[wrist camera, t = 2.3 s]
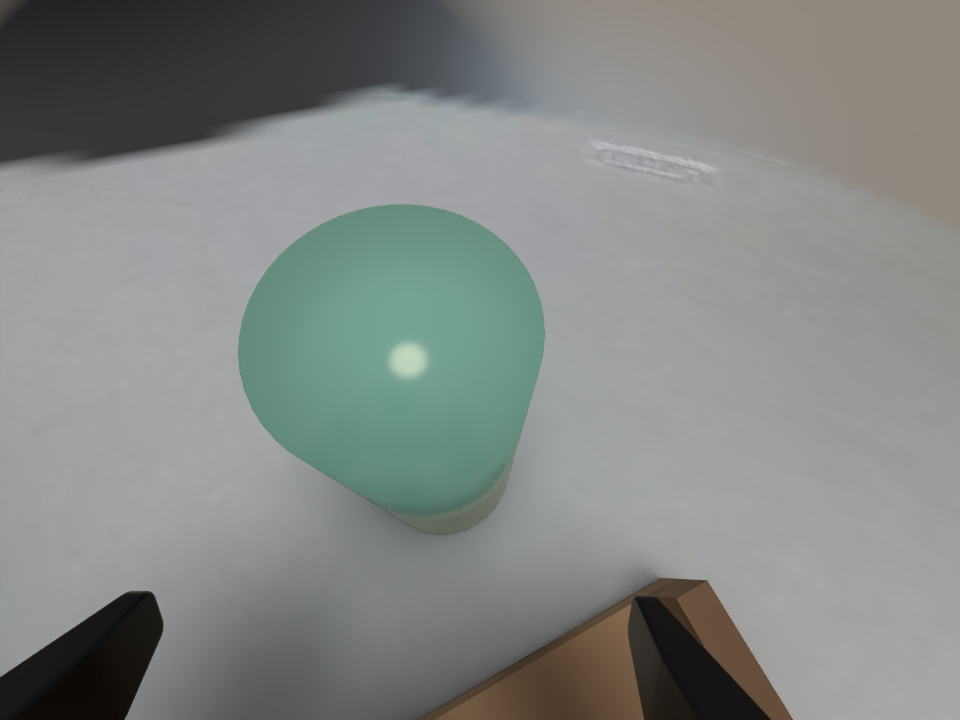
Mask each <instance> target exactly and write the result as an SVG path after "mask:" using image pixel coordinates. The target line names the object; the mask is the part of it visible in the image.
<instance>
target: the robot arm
mask: <svg viewBox="0 0 960 720" xmlns="http://www.w3.org/2000/svg"><path fill="white" fill-rule="evenodd" d="M162 632H163V619H162V616H161V613H160V610H159V607H158V604H157V601H156V598H155V596H154V594H153V593H152V592H150V591H130V592H127V593H125V594H123V595H121V596H120V597H118V598H117V599H115V600H114V601H112V602H111V603H109V604H108V605H106V606H105V607H104V608H102V609H101V610H99V611H98V612H96V613H95V614H93V615H92V616H90V617H89V618H87V619H86V620H84V621H83V622H81V623H80V624H78V625H77V626H75V627H74V628H72V629H71V630H69V631H68V632H66V633H65V634H63V635H62V636H61V637H59V638H58V639H56V640H55V641H53V642H52V643H50V644H49V645H47V646H46V647H44V648H43V649H41V650H40V651H38V652H37V653H35V654H34V655H32V656H31V657H29V658H28V659H26V660H25V661H23V662H22V663H21V664H19V665H18V666H16V667H15V668H13V669H12V670H10V671H9V672H7V673H6V674H4V675H3V676H1V677H0V720H125V718H126V716H127V713H128V711H129V709H130V707H131V705H132V702H133V700H134V698H135V695H136V693H137V691H138V688H139V686H140V684H141V682H142V679H143V677H144V675H145V672H146V670H147V668H148V666H149V663H150V661H151V659H152V656H153V654H154V652H155V650H156V647H157V645H158V643H159V640H160V638H161V635H162ZM628 639H629V645H630V650H631V655H632V660H633V665H634V670H635V675H636V681H637V686H638V691H639V696H640V701H641V706H642V711H643V716H644V720H772V719H771V718H770V717H769V716H768V715H767V714H766V713H765V712H764V711H763V709H762V708H761V707H760V706H759V705H758V704H757V703H756V702H755V701H754V700H753V699H752V698H751V697H750V696H749V694H748V693H747V692H746V691H745V690H744V689H743V688H742V687H741V686H740V685H739V684H738V683H737V682H736V680H735V679H734V678H733V677H732V676H731V675H730V674H729V673H728V672H727V671H726V670H725V669H724V668H723V667H722V665H721V664H720V663H719V662H718V661H717V660H716V659H715V658H714V657H713V656H712V655H711V654H710V653H709V652H708V650H707V649H706V648H705V647H704V646H703V645H702V644H701V643H700V642H699V641H698V640H697V639H696V638H695V636H694V635H693V634H692V633H691V632H690V631H689V630H688V629H687V628H686V627H685V626H684V625H683V624H682V623H681V621H680V620H679V619H678V618H677V617H676V616H675V615H674V614H673V613H672V612H671V611H670V610H669V609H668V608H667V606H666V605H665V604H664V603H663V602H662V601H661V600H660V599H659V598H658V597H656V596H654V595H635V596H634V597H633V599H632V603H631V610H630V616H629V622H628Z"/></svg>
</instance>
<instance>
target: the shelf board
mask: <svg viewBox="0 0 960 720" xmlns="http://www.w3.org/2000/svg"><path fill="white" fill-rule="evenodd" d="M635 595H654V596H656V597H658V598H659V599H660V600H661V601H662V602H663V603H664V604H665V605H666V606H667V608H668V609H669V610H670V611H671V612H672V613H673V614H674V615H675V616H676V617H677V618H678V619H679V620H680V621H681V623H682V624H683V625H684V626H685V627H686V628H687V629H688V630H689V631H690V632H691V633H692V634H693V635H694V636H695V638H696V639H697V640H698V641H699V642H700V643H701V644H702V645H703V646H704V647H705V648H706V649H707V650H708V652H709V653H710V654H711V655H712V656H713V657H714V658H715V659H716V660H717V661H718V662H719V663H720V664H721V665H722V667H723V668H724V669H725V670H726V671H727V672H728V673H729V674H730V675H731V676H732V677H733V678H734V679H735V680H736V682H737V683H738V684H739V685H740V686H741V687H742V688H743V689H744V690H745V691H746V692H747V693H748V694H749V696H750V697H751V698H752V699H753V700H754V701H755V702H756V703H757V704H758V705H759V706H760V707H761V708H762V709H763V711H764V712H765V713H766V714H767V715H768V716H769V717H770V718H771V719H772V720H793V719H792V717H791V716H790V714H789V712H788V711H787V709H786V708H785V706H784V704H783V703H782V701H781V700H780V698H779V696H778V695H777V693H776V691H775V690H774V688H773V687H772V685H771V683H770V682H769V680H768V678H767V677H766V675H765V674H764V672H763V670H762V669H761V667H760V665H759V664H758V662H757V661H756V659H755V657H754V656H753V654H752V652H751V651H750V649H749V648H748V646H747V644H746V643H745V641H744V640H743V638H742V636H741V635H740V633H739V631H738V630H737V628H736V627H735V625H734V623H733V622H732V620H731V618H730V617H729V615H728V614H727V612H726V610H725V609H724V607H723V605H722V604H721V602H720V601H719V599H718V597H717V596H716V594H715V593H714V591H713V589H712V588H711V586H710V584H709V583H708V581H707V580H688V579H669V578H661V579H659V580H657V581H655V582H654V583H652V584H650V585H649V586H647V587H645V588H643V589H642V590H640V591H638V592H637V593H635V594H633V595H631V596H630V597H628V598H626V599H625V600H623V601H621V602H619V603H618V604H616V605H614V606H613V607H611V608H609V609H607V610H606V611H604V612H602V613H601V614H599V615H597V616H596V617H594V618H592V619H590V620H589V621H587V622H585V623H584V624H582V625H580V626H578V627H577V628H575V629H573V630H572V631H570V632H568V633H566V634H565V635H563V636H561V637H560V638H558V639H556V640H554V641H553V642H551V643H549V644H548V645H546V646H544V647H543V648H541V649H539V650H537V651H536V652H534V653H532V654H531V655H529V656H527V657H525V658H524V659H522V660H520V661H519V662H517V663H515V664H513V665H512V666H510V667H508V668H507V669H505V670H503V671H501V672H500V673H498V674H496V675H495V676H493V677H491V678H489V679H488V680H486V681H484V682H483V683H481V684H479V685H478V686H476V687H474V688H472V689H471V690H469V691H467V692H466V693H464V694H462V695H460V696H459V697H457V698H455V699H454V700H452V701H450V702H448V703H447V704H445V705H443V706H442V707H440V708H438V709H436V710H435V711H433V712H431V713H430V714H428V715H426V716H424V717H423V718H421V719H419V720H644V716H643V711H642V706H641V701H640V696H639V691H638V686H637V681H636V675H635V670H634V665H633V660H632V655H631V650H630V645H629V639H628V622H629V616H630V610H631V603H632V599H633V597H634V596H635Z"/></svg>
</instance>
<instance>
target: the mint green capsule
mask: <svg viewBox="0 0 960 720" xmlns="http://www.w3.org/2000/svg"><path fill="white" fill-rule="evenodd" d="M544 338H545V330H544V316H543V311H542V306H541V302H540V298H539V295H538V293H537V290H536V287H535V284H534V282H533V280H532V279H531V277H530V275H529V273H528V271H527V269H526V268H525V266H524V265H523V264H522V262H521V261H520V259H519V258H518V257H517V255H516V254H515V253H514V252H513V251H512V250H511V249H510V248H509V247H508V246H507V245H506V244H505V243H504V242H503V241H502V240H501V239H499V238H498V237H497V236H496V235H495V234H493V233H492V232H491V231H489V230H487V229H486V228H484V227H483V226H481V225H479V224H478V223H476V222H474V221H472V220H470V219H467V218H465V217H463V216H461V215H458V214H455V213H452V212H449V211H446V210H442V209H437V208H433V207H428V206H419V205H385V206H376V207H370V208H366V209H361V210H357V211H354V212H351V213H347V214H344V215H341V216H339V217H336V218H334V219H332V220H330V221H327V222H325V223H323V224H321V225H320V226H318V227H316V228H314V229H313V230H311V231H309V232H308V233H306V234H305V235H303V236H302V237H301V238H299V239H298V240H297V241H295V242H294V243H293V244H291V245H290V246H289V247H288V248H287V249H286V250H285V251H284V252H283V253H282V254H281V255H279V256H278V258H277V259H276V260H275V261H274V262H273V263H272V265H271V266H270V267H269V268H268V269H267V271H266V272H265V274H264V275H263V277H262V278H261V280H260V281H259V283H258V284H257V286H256V288H255V290H254V292H253V294H252V296H251V298H250V300H249V302H248V305H247V308H246V311H245V314H244V316H243V320H242V325H241V330H240V335H239V350H238V357H239V368H240V375H241V379H242V383H243V387H244V391H245V393H246V396H247V398H248V400H249V403H250V405H251V407H252V409H253V411H254V413H255V414H256V416H257V417H258V419H259V421H260V422H261V424H262V425H263V426H264V428H265V429H266V430H267V431H268V432H269V433H270V434H271V436H272V437H273V438H274V439H275V440H276V441H277V442H278V443H279V444H281V445H282V446H283V447H284V448H285V449H287V450H288V451H289V452H290V453H292V454H293V455H295V456H296V457H298V458H300V459H301V460H303V461H304V462H306V463H308V464H309V465H311V466H313V467H314V468H316V469H318V470H319V471H321V472H323V473H324V474H326V475H328V476H329V477H331V478H332V479H334V480H336V481H337V482H339V483H341V484H342V485H344V486H346V487H347V488H349V489H351V490H352V491H354V492H356V493H357V494H359V495H361V496H362V497H364V498H366V499H367V500H369V501H370V502H372V503H374V504H375V505H377V506H379V507H380V508H382V509H384V510H385V511H387V512H389V513H390V514H392V515H394V516H395V517H397V518H399V519H400V520H402V521H403V522H405V523H407V524H408V525H410V526H412V527H413V528H416V529H418V530H420V531H423V532H427V533H431V534H438V535H447V534H454V533H458V532H462V531H465V530H467V529H470V528H472V527H474V526H475V525H477V524H478V523H480V522H481V521H482V520H484V519H485V518H486V517H487V516H488V515H489V514H490V513H491V512H492V511H493V510H494V508H495V507H496V505H497V504H498V502H499V500H500V498H501V497H502V494H503V492H504V489H505V486H506V482H507V479H508V475H509V472H510V469H511V465H512V462H513V458H514V455H515V452H516V448H517V445H518V441H519V438H520V435H521V431H522V428H523V424H524V421H525V417H526V414H527V411H528V407H529V404H530V400H531V397H532V394H533V390H534V387H535V383H536V380H537V376H538V373H539V369H540V365H541V361H542V356H543V350H544Z"/></svg>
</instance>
